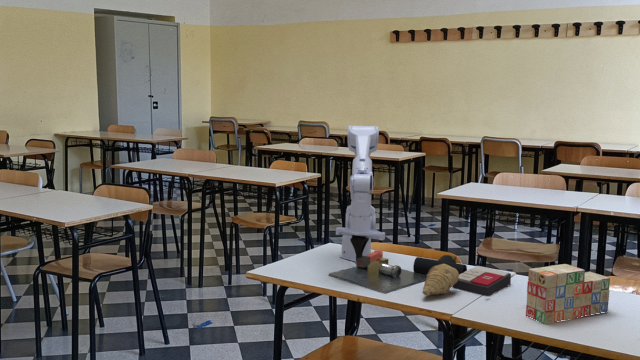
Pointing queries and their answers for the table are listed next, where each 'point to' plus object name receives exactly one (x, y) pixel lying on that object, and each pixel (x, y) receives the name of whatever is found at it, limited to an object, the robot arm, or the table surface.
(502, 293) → the table surface
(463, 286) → the calculator
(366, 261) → the lever
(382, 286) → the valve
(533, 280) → the stack of blocks
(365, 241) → the robot arm
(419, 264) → the pipe connector
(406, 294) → the table surface
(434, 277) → the seashell
